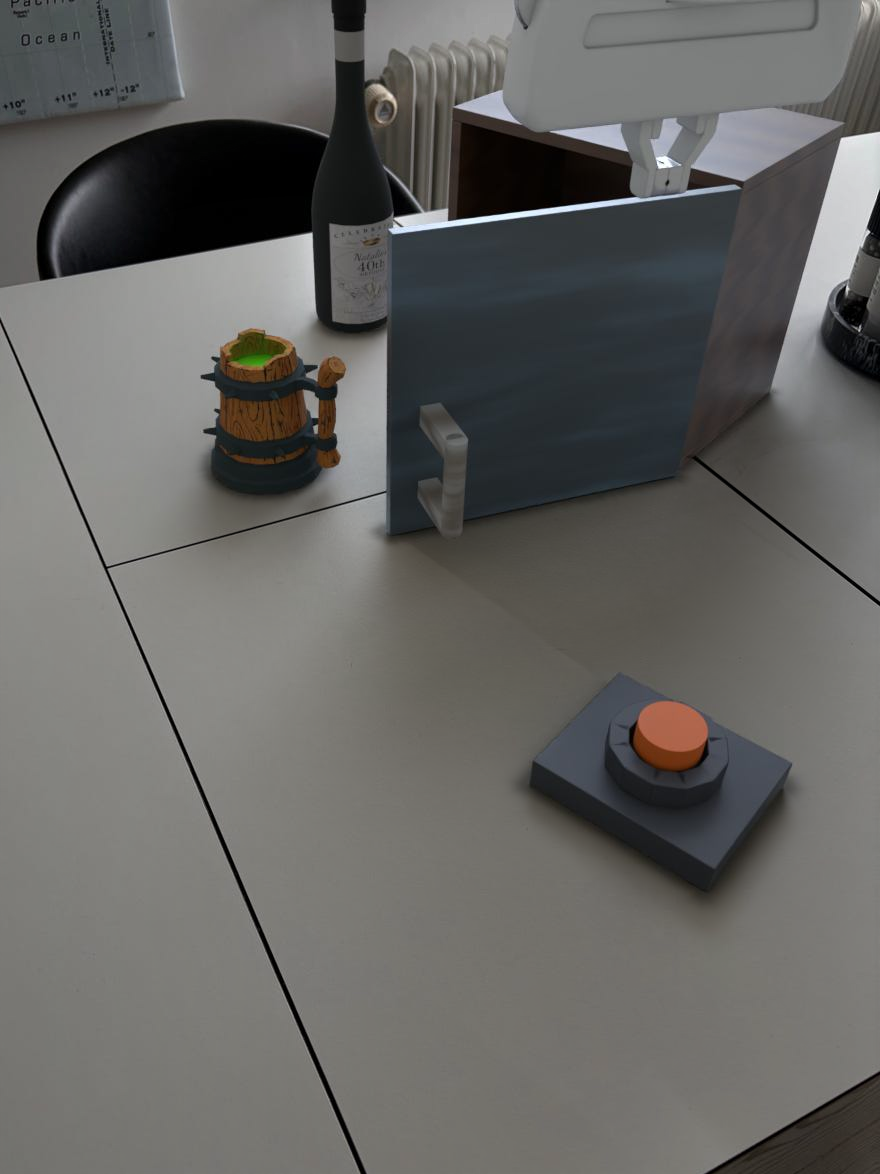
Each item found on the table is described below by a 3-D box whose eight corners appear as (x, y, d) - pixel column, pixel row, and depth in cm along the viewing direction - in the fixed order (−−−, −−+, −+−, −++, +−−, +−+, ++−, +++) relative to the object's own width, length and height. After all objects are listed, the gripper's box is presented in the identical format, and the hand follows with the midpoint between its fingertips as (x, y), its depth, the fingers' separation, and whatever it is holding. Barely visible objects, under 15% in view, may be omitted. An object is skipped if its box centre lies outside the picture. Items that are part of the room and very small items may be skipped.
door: (715, 513, 84) (793, 218, 68) (416, 580, 78) (425, 270, 62) (671, 469, 89) (735, 183, 73) (385, 528, 82) (386, 228, 66)
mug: (183, 475, 88) (164, 349, 80) (252, 420, 94) (240, 299, 87) (315, 520, 83) (308, 390, 75) (377, 459, 90) (376, 334, 82)
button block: (783, 786, 64) (801, 742, 61) (706, 892, 58) (722, 849, 55) (614, 695, 69) (623, 651, 67) (528, 784, 64) (535, 740, 61)
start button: (714, 743, 61) (720, 722, 60) (681, 783, 59) (687, 763, 58) (654, 711, 63) (659, 690, 62) (620, 748, 61) (624, 728, 60)
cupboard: (678, 470, 89) (744, 181, 73) (440, 373, 101) (452, 106, 85) (770, 391, 100) (845, 122, 83) (544, 311, 112) (572, 63, 95)
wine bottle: (405, 327, 109) (412, -5, 88) (338, 344, 106) (328, 4, 85) (368, 297, 114) (366, -23, 93) (303, 313, 111) (286, -15, 90)
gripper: (549, -65, 48) (522, 234, 58) (907, -84, 53) (829, 192, 63) (494, -86, 53) (477, 195, 62) (830, -102, 58) (767, 159, 67)
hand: (657, 193), depth 62 cm, fingers closed
